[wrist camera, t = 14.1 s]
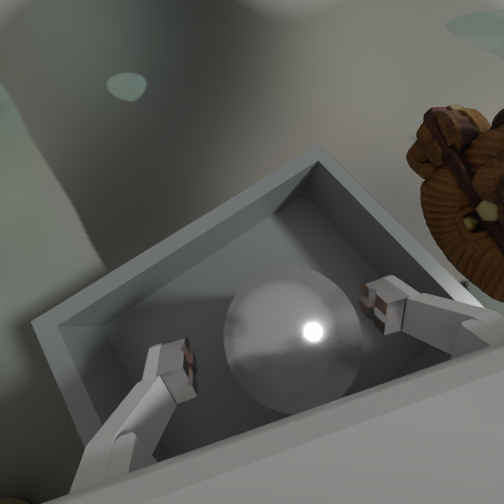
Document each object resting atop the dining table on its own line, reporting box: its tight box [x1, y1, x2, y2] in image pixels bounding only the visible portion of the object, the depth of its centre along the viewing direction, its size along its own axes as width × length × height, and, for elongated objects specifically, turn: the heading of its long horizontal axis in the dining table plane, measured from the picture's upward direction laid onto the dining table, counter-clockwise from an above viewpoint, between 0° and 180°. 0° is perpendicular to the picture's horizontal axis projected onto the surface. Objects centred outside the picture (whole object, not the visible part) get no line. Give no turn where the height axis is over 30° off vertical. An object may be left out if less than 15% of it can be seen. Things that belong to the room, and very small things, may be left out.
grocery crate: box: [31, 144, 484, 462], centre depth 15 cm, size 20×16×5 cm
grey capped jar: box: [224, 266, 363, 414], centre depth 12 cm, size 5×5×8 cm
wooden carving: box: [406, 105, 504, 302], centre depth 15 cm, size 16×5×10 cm, turn 17°
